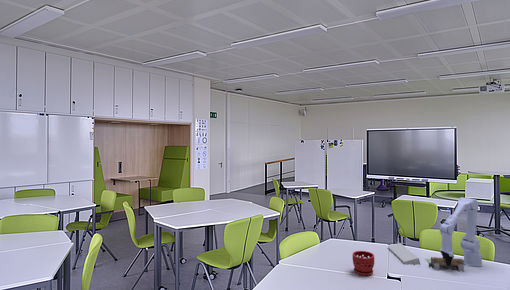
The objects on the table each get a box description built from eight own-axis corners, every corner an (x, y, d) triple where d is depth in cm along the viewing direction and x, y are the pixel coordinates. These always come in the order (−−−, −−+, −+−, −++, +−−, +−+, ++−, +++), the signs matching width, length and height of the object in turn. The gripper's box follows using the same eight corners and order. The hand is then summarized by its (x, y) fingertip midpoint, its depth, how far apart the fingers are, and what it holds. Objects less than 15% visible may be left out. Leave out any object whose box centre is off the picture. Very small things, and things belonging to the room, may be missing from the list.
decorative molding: (405, 268, 216) (420, 264, 215) (403, 261, 216) (418, 258, 215) (389, 252, 250) (402, 248, 249) (387, 246, 250) (400, 242, 249)
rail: (461, 264, 206) (461, 258, 206) (464, 266, 203) (464, 260, 203) (431, 262, 210) (430, 257, 210) (432, 264, 207) (432, 258, 207)
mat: (457, 260, 221) (457, 260, 221) (462, 265, 212) (462, 264, 212) (425, 259, 225) (425, 258, 225) (429, 263, 216) (429, 263, 216)
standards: (462, 268, 207) (462, 259, 207) (466, 271, 201) (466, 262, 202) (428, 266, 211) (428, 257, 212) (431, 269, 206) (431, 260, 206)
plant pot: (348, 270, 206) (348, 252, 206) (365, 267, 210) (364, 249, 211) (361, 278, 194) (361, 258, 194) (379, 275, 198) (379, 255, 198)
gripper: (436, 239, 214) (436, 259, 214) (444, 246, 200) (444, 267, 200) (447, 239, 213) (448, 260, 213) (456, 246, 199) (457, 268, 199)
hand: (447, 264), depth 206 cm, fingers closed on rail, 3 cm apart
